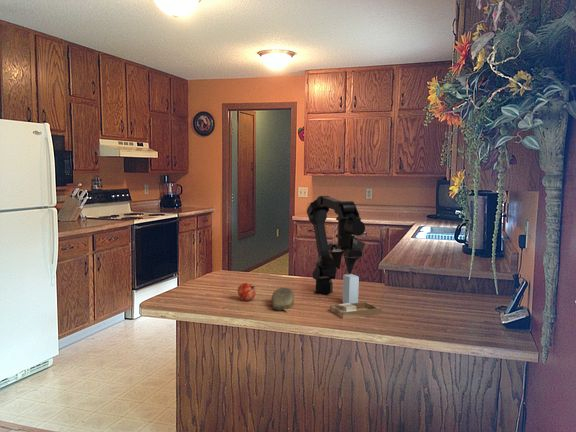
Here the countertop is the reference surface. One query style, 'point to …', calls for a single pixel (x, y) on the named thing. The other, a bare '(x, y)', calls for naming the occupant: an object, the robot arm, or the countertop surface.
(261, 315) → the countertop surface
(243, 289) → the pomegranate
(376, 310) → the wooden tray
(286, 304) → the stone
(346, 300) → the pale blue rectangular block
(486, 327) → the countertop surface
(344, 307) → the offcut upper
